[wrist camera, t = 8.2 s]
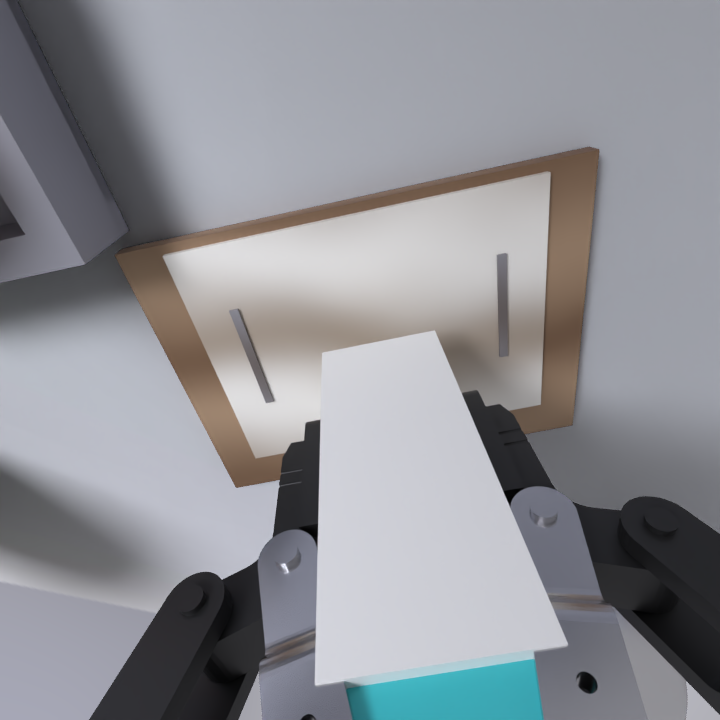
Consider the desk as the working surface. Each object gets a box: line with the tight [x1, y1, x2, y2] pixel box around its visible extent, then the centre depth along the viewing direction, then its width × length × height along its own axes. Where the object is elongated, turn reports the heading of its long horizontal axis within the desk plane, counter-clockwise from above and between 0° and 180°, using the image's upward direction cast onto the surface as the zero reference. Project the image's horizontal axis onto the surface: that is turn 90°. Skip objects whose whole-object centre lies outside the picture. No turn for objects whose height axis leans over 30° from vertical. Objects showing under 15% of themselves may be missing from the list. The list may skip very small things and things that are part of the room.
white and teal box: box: [315, 330, 568, 720], centre depth 10 cm, size 4×4×11 cm
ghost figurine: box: [613, 607, 687, 720], centre depth 23 cm, size 9×10×10 cm
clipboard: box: [115, 147, 599, 488], centre depth 16 cm, size 11×15×1 cm
